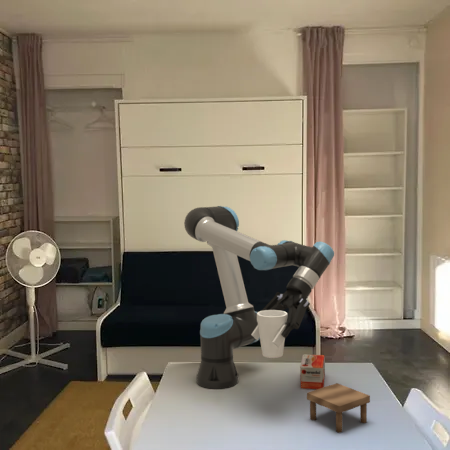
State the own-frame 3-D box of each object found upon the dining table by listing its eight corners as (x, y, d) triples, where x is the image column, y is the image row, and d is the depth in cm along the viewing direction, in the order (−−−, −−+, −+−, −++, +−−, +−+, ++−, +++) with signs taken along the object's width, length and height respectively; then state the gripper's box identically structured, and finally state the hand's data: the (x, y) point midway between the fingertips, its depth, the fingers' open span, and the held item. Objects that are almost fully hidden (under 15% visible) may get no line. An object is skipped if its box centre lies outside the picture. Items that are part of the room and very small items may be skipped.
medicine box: (302, 374, 202) (302, 353, 201) (325, 375, 200) (325, 354, 200) (300, 389, 187) (299, 366, 187) (323, 390, 185) (323, 367, 185)
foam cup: (286, 360, 162) (285, 317, 161) (255, 358, 164) (255, 316, 163) (288, 350, 171) (288, 310, 170) (259, 349, 173) (259, 309, 172)
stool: (307, 418, 163) (306, 392, 162) (337, 407, 170) (336, 383, 170) (339, 434, 152) (339, 406, 152) (369, 422, 160) (369, 395, 159)
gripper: (333, 296, 166) (295, 356, 158) (285, 286, 184) (249, 339, 176) (321, 281, 163) (281, 342, 155) (273, 272, 181) (236, 326, 173)
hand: (264, 340), depth 165 cm, fingers closed on foam cup, 9 cm apart
